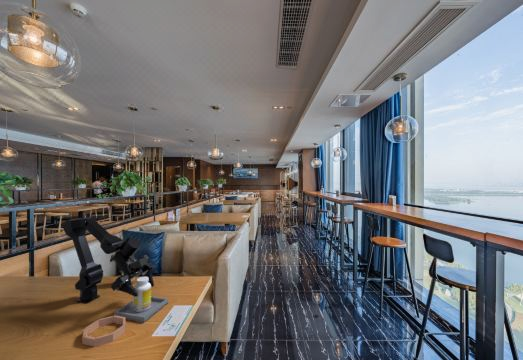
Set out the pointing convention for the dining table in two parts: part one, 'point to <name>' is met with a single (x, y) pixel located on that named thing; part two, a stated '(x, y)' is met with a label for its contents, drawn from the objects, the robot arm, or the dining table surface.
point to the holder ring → (106, 338)
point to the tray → (143, 316)
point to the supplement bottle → (142, 295)
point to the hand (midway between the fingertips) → (145, 290)
